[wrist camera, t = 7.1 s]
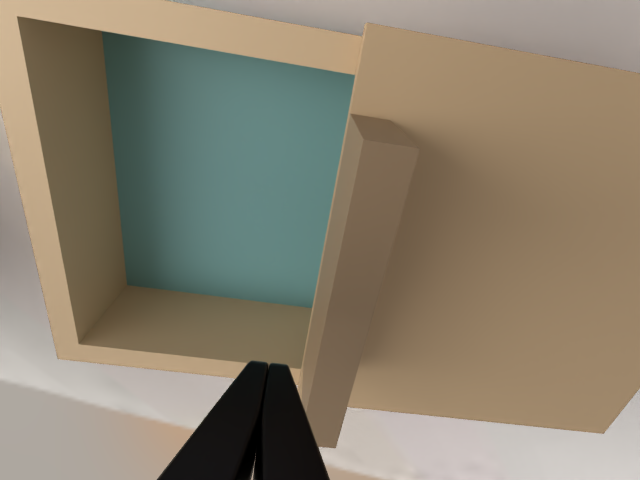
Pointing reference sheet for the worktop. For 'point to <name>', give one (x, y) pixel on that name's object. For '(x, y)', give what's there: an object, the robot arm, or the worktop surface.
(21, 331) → the worktop surface
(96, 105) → the mailer box
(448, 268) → the lid
